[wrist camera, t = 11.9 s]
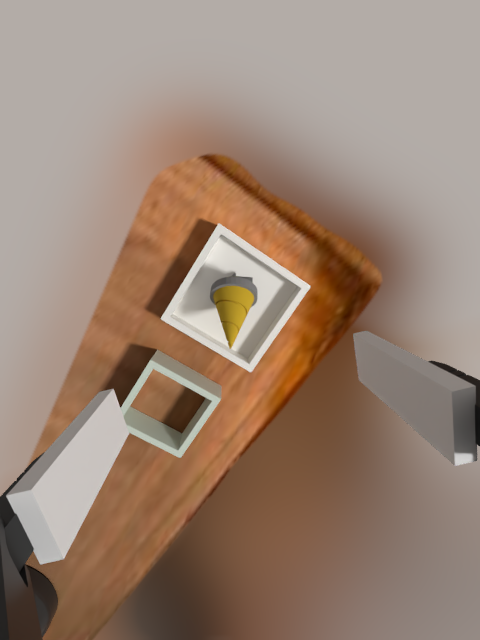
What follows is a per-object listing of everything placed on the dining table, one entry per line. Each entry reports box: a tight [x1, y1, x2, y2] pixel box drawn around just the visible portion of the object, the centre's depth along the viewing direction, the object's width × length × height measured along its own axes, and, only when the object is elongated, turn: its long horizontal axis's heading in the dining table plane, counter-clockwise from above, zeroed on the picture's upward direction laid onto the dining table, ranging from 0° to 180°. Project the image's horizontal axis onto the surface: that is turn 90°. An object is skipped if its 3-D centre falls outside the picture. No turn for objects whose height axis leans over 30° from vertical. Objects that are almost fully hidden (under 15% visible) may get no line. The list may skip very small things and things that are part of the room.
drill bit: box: [210, 273, 258, 349], centre depth 31 cm, size 5×5×10 cm
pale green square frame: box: [121, 350, 221, 458], centre depth 36 cm, size 10×10×4 cm
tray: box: [161, 224, 311, 372], centre depth 34 cm, size 13×13×2 cm
